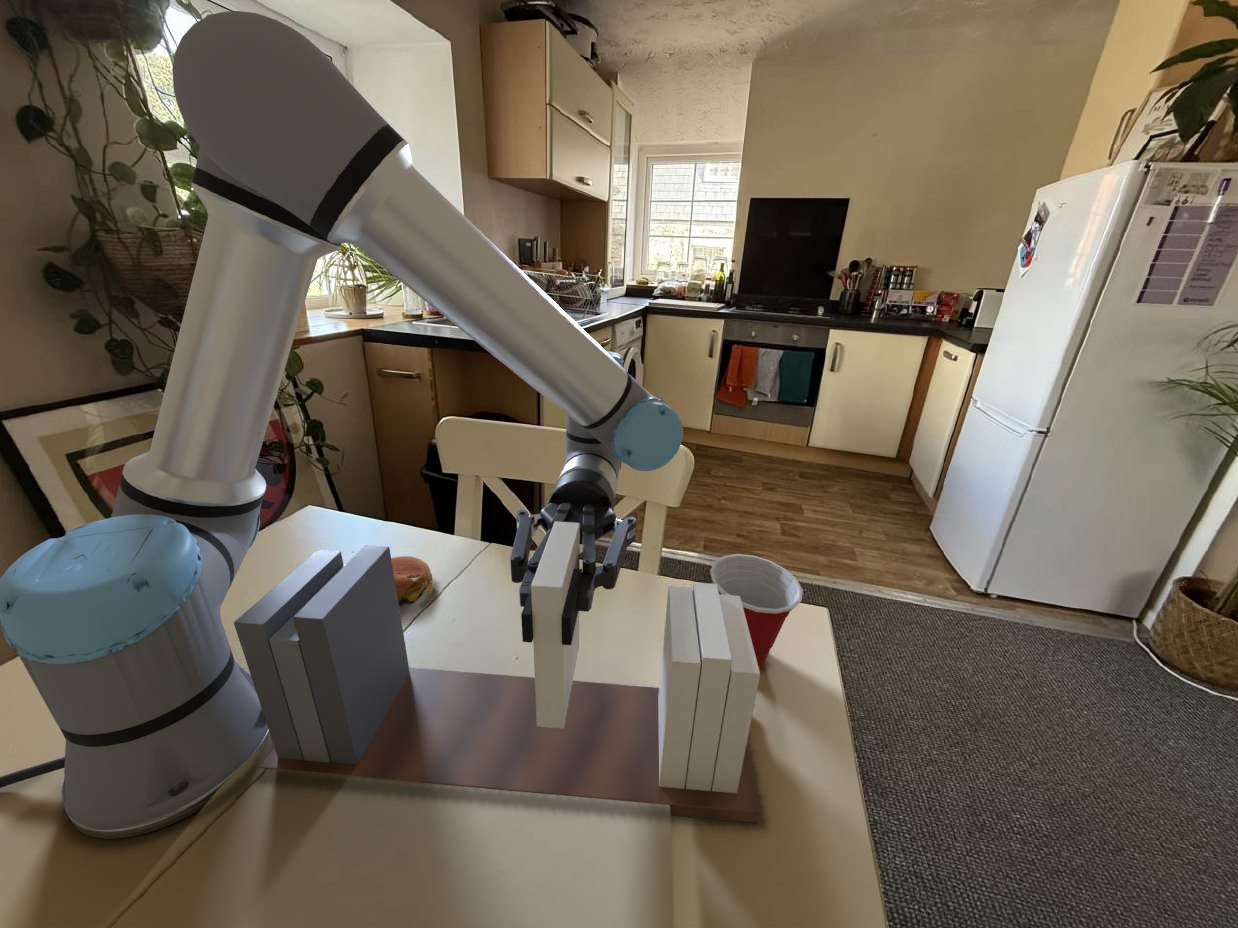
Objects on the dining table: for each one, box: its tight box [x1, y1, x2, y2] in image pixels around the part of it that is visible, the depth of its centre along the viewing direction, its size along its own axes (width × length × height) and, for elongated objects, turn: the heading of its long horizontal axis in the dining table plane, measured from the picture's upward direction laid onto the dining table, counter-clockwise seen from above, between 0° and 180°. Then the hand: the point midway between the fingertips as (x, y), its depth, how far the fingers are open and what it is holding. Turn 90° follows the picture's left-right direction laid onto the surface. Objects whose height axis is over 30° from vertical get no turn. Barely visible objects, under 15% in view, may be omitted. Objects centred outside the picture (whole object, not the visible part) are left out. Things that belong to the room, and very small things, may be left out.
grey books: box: [233, 544, 410, 765], centre depth 48 cm, size 8×11×17 cm
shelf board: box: [258, 667, 761, 824], centre depth 51 cm, size 46×13×2 cm, turn 86°
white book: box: [531, 522, 581, 728], centre depth 45 cm, size 2×10×15 cm, turn 176°
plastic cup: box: [709, 553, 804, 669], centre depth 61 cm, size 11×11×12 cm
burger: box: [391, 555, 434, 607], centre depth 71 cm, size 10×9×5 cm
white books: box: [658, 582, 761, 793], centre depth 47 cm, size 7×10×16 cm
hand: (546, 629), depth 39 cm, fingers closed on white book, 2 cm apart
